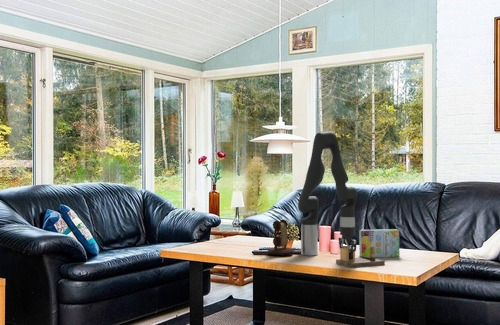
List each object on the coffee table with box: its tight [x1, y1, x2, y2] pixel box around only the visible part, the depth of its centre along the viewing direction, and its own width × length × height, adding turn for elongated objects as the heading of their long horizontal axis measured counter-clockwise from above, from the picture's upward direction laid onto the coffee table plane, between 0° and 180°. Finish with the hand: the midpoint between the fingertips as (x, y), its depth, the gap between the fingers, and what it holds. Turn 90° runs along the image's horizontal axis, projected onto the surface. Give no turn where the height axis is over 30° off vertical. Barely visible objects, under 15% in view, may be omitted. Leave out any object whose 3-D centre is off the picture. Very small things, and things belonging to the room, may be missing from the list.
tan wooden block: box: [339, 247, 356, 261], centre depth 282 cm, size 5×5×6 cm
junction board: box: [335, 246, 386, 269], centre depth 282 cm, size 14×20×9 cm
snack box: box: [358, 228, 400, 258], centre depth 306 cm, size 21×6×15 cm, turn 92°
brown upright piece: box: [267, 219, 294, 258], centre depth 313 cm, size 15×15×20 cm
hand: (347, 258), depth 282 cm, fingers closed on tan wooden block, 5 cm apart
